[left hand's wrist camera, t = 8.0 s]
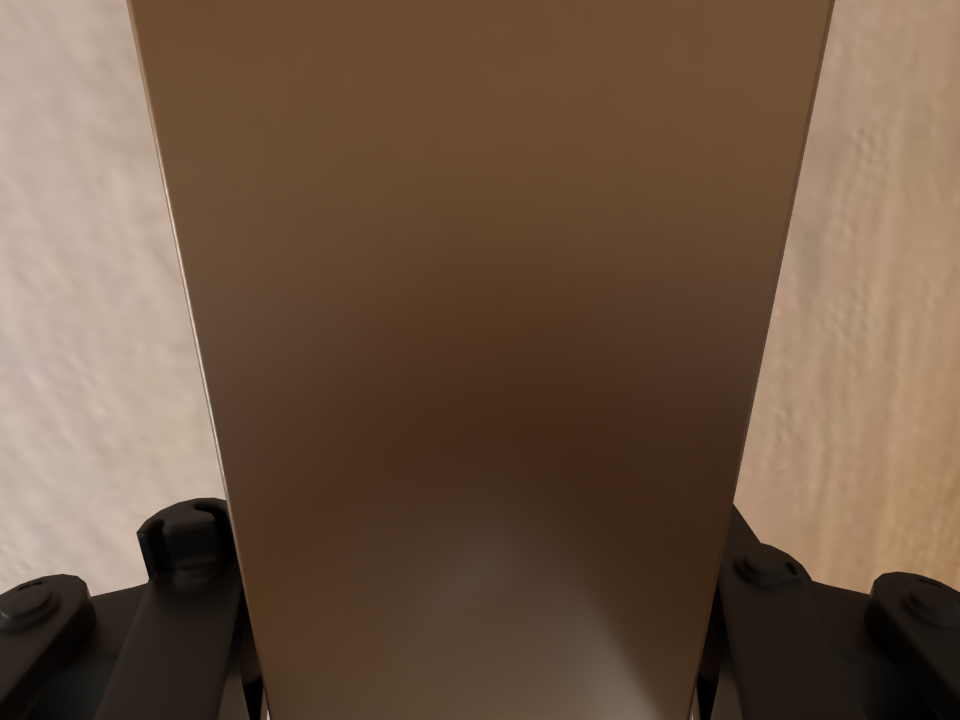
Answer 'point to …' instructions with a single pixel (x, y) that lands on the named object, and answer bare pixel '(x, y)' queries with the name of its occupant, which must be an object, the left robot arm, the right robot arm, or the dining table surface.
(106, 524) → the dining table surface
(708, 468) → the bar
